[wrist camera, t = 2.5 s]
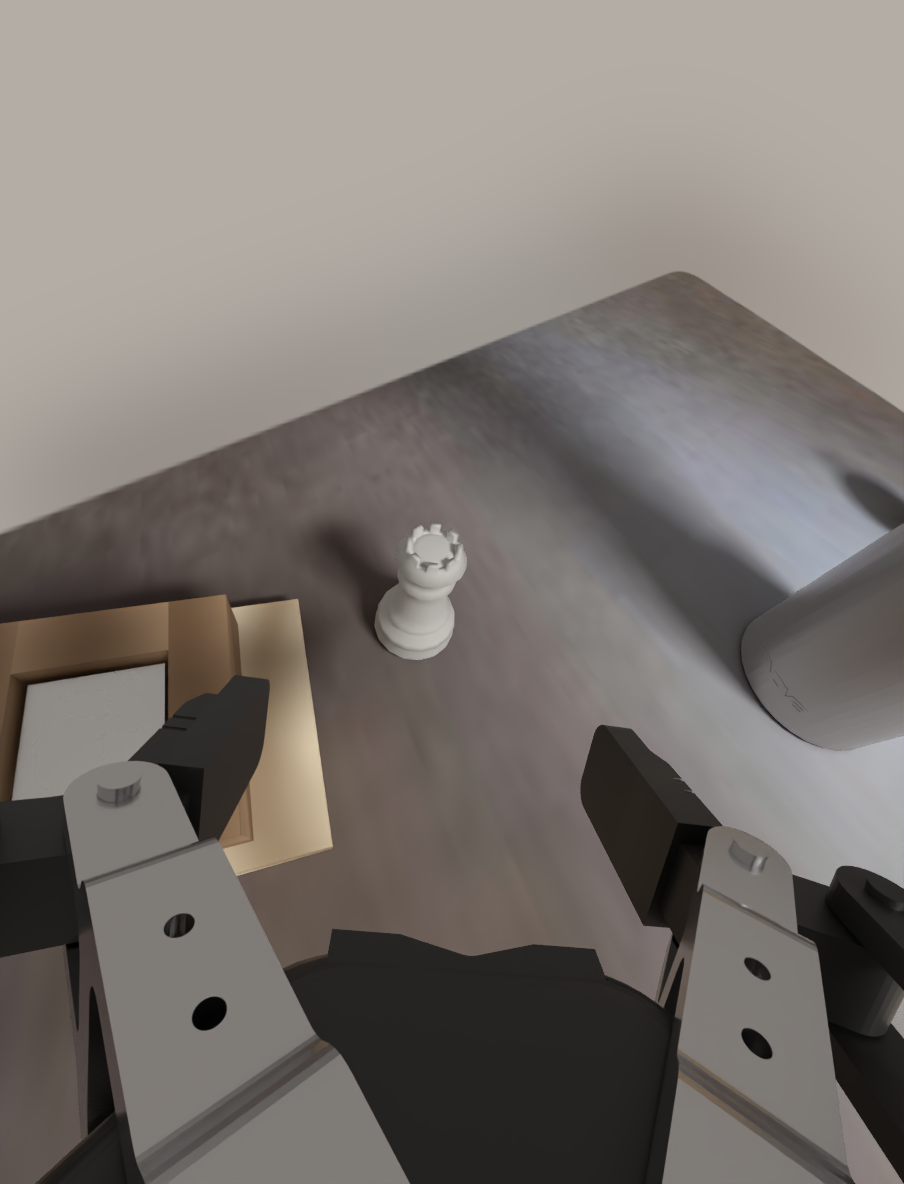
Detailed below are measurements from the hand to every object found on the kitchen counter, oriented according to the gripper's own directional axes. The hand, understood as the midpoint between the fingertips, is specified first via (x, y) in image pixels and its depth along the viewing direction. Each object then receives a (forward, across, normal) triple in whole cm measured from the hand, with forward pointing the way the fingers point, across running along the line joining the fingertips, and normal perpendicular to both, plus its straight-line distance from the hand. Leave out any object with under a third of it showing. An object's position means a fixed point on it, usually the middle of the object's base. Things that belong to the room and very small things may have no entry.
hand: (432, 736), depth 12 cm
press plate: (+8, +12, +6) cm, 16 cm away
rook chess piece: (+16, 0, +3) cm, 16 cm away
